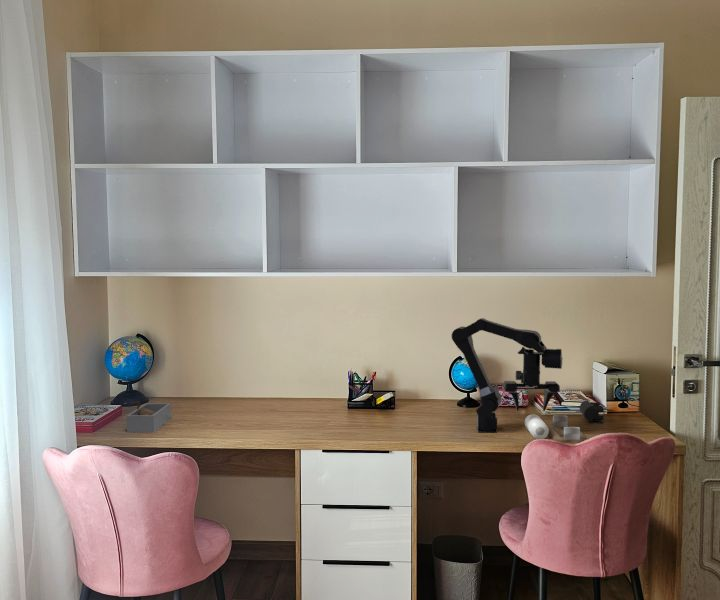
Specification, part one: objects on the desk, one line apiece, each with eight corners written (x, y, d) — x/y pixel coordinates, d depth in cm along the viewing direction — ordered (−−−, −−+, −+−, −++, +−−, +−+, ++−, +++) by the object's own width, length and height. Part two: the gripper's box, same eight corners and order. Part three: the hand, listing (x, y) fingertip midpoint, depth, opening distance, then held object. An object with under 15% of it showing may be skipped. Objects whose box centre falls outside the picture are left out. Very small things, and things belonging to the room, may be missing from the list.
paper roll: (527, 432, 243) (538, 419, 242) (521, 423, 255) (531, 410, 255) (541, 443, 243) (552, 429, 242) (534, 433, 255) (544, 421, 255)
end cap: (579, 417, 274) (579, 400, 274) (598, 417, 273) (598, 400, 273) (584, 423, 264) (584, 405, 264) (603, 424, 263) (604, 406, 263)
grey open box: (125, 424, 264) (125, 401, 264) (131, 421, 269) (131, 399, 268) (158, 427, 261) (158, 404, 260) (164, 424, 265) (164, 401, 264)
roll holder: (555, 442, 239) (556, 428, 238) (544, 428, 257) (544, 415, 256) (588, 442, 238) (588, 428, 238) (574, 428, 256) (575, 415, 256)
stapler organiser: (126, 432, 255) (126, 415, 254) (146, 418, 275) (145, 403, 274) (154, 432, 254) (153, 415, 254) (171, 418, 274) (170, 403, 274)
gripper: (553, 363, 255) (552, 405, 256) (501, 362, 256) (500, 405, 257) (560, 368, 244) (559, 413, 245) (506, 368, 245) (505, 412, 246)
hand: (530, 410), depth 248 cm, fingers open, 9 cm apart
